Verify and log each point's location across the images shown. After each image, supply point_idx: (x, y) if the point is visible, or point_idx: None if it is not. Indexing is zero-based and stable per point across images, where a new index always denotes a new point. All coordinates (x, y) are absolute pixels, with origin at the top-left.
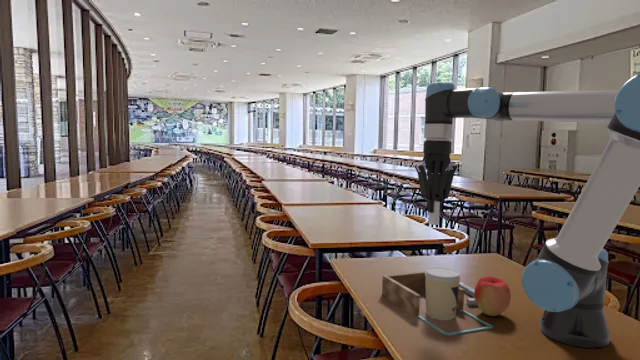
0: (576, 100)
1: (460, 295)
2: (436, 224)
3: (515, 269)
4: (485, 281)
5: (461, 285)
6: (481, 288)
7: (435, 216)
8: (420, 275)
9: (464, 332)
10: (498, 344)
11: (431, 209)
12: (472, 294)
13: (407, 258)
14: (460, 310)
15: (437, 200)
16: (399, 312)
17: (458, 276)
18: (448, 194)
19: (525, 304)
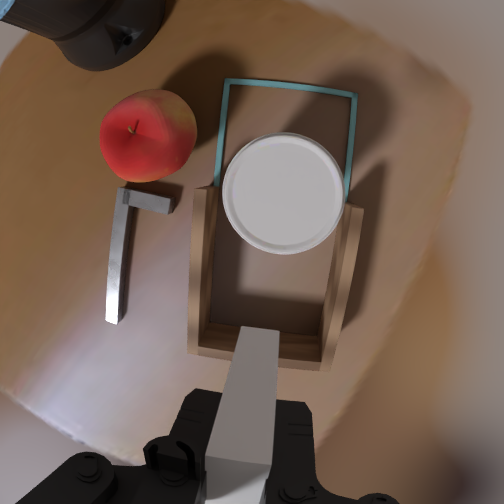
0: None
1: (210, 189)
2: (260, 330)
3: None
4: (149, 141)
5: (119, 290)
6: (179, 131)
7: (269, 364)
8: (216, 345)
9: (309, 86)
10: (281, 27)
11: (298, 420)
12: (126, 243)
13: (126, 455)
14: (219, 183)
15: (204, 484)
16: (364, 241)
17: (260, 139)
18: (55, 478)
19: (63, 161)
